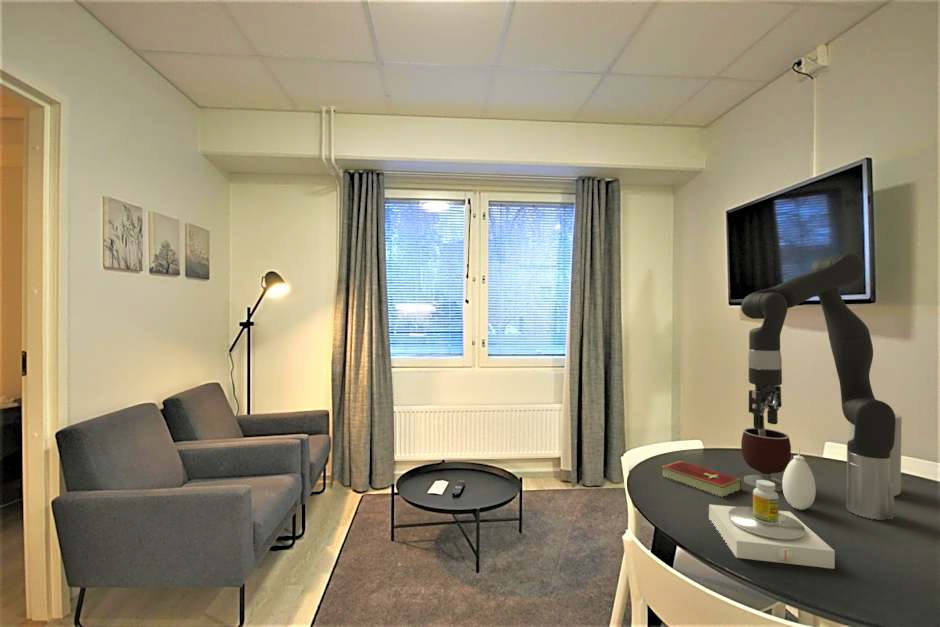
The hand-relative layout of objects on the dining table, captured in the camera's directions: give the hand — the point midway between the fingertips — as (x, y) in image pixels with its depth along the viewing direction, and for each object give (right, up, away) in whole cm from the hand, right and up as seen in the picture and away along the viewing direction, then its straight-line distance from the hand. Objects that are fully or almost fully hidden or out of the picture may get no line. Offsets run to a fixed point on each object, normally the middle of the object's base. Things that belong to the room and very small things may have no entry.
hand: (765, 426), depth 120 cm
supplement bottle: (-6, -22, -9) cm, 24 cm away
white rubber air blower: (+16, -27, +10) cm, 33 cm away
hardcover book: (-3, -27, +29) cm, 40 cm away
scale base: (-6, -27, -9) cm, 29 cm away
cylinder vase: (+52, -27, +25) cm, 64 cm away
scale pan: (-6, -22, -9) cm, 25 cm away
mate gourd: (+20, -27, +30) cm, 45 cm away
